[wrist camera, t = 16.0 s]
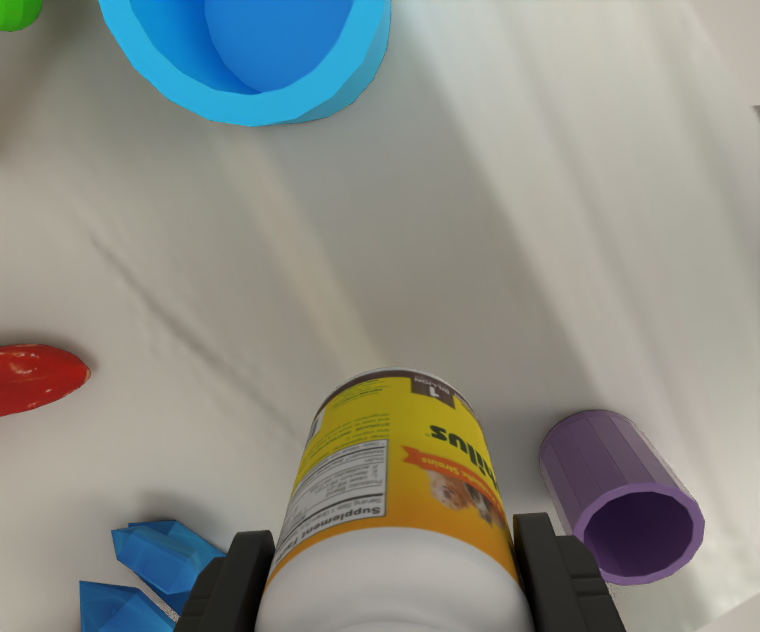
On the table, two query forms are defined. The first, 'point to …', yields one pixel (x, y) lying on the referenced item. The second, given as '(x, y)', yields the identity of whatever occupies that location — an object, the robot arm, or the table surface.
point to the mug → (254, 54)
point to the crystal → (147, 578)
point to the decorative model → (18, 13)
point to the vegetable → (37, 376)
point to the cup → (620, 498)
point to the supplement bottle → (395, 519)
